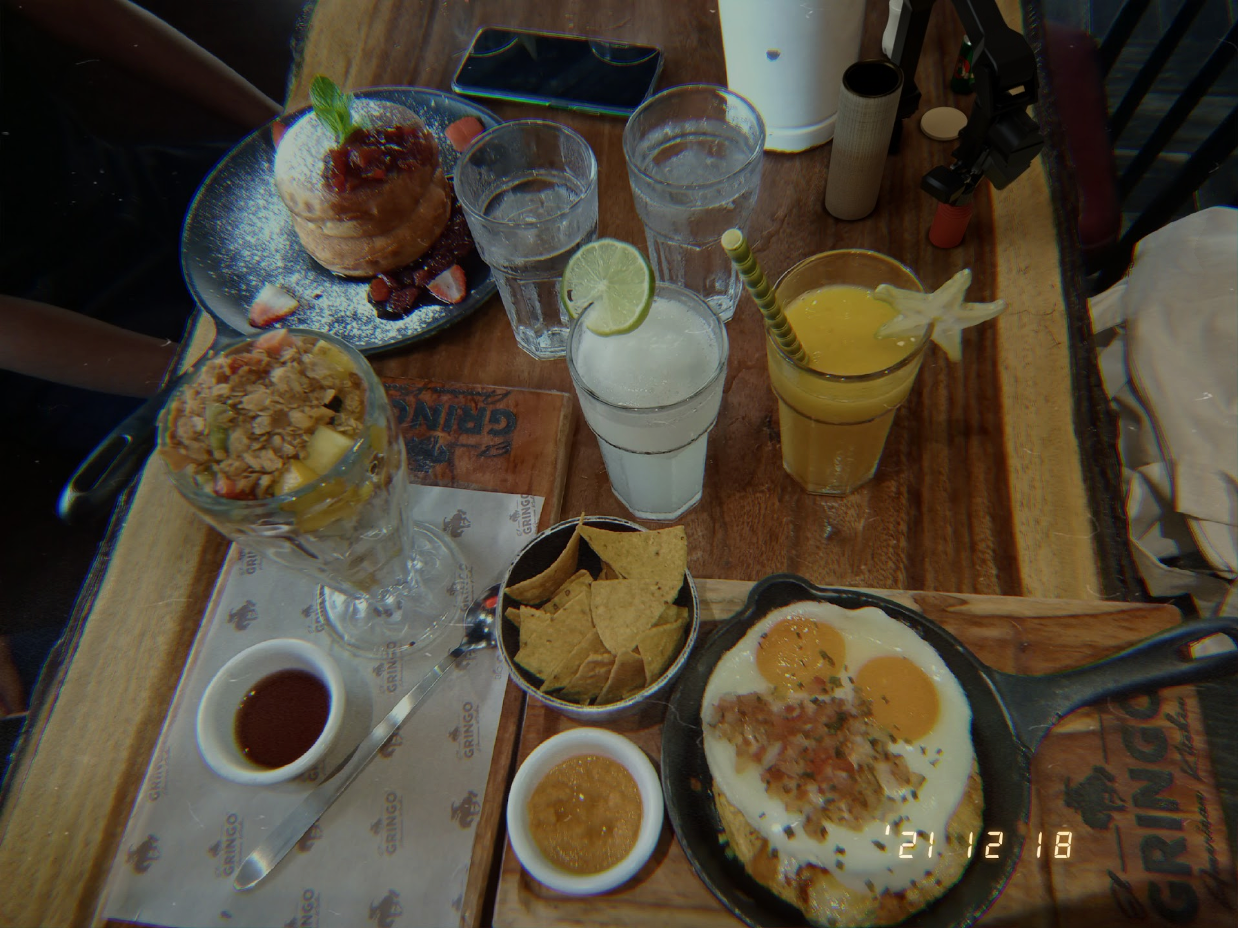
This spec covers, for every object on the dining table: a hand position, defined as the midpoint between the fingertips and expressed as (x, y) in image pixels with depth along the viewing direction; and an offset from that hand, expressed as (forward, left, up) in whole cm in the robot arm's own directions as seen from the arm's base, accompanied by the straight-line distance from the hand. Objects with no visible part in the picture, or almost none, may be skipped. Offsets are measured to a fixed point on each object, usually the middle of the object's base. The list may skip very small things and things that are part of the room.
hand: (958, 199), depth 131 cm
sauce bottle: (0, 0, -9) cm, 9 cm away
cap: (0, 0, +2) cm, 3 cm away
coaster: (+3, +30, -9) cm, 32 cm away
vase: (-17, +10, -10) cm, 22 cm away
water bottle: (-4, +54, -10) cm, 55 cm away
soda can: (+8, +41, -10) cm, 43 cm away
